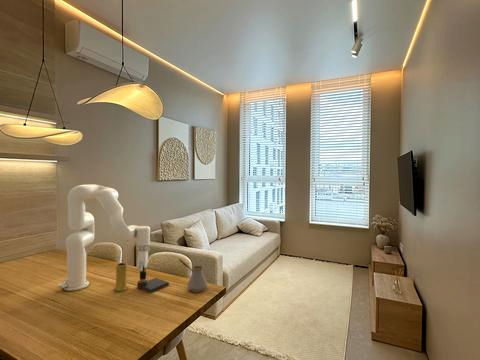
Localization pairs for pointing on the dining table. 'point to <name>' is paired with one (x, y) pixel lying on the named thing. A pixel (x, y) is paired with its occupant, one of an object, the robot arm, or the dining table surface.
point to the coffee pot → (196, 278)
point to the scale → (152, 285)
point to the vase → (121, 277)
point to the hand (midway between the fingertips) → (142, 278)
